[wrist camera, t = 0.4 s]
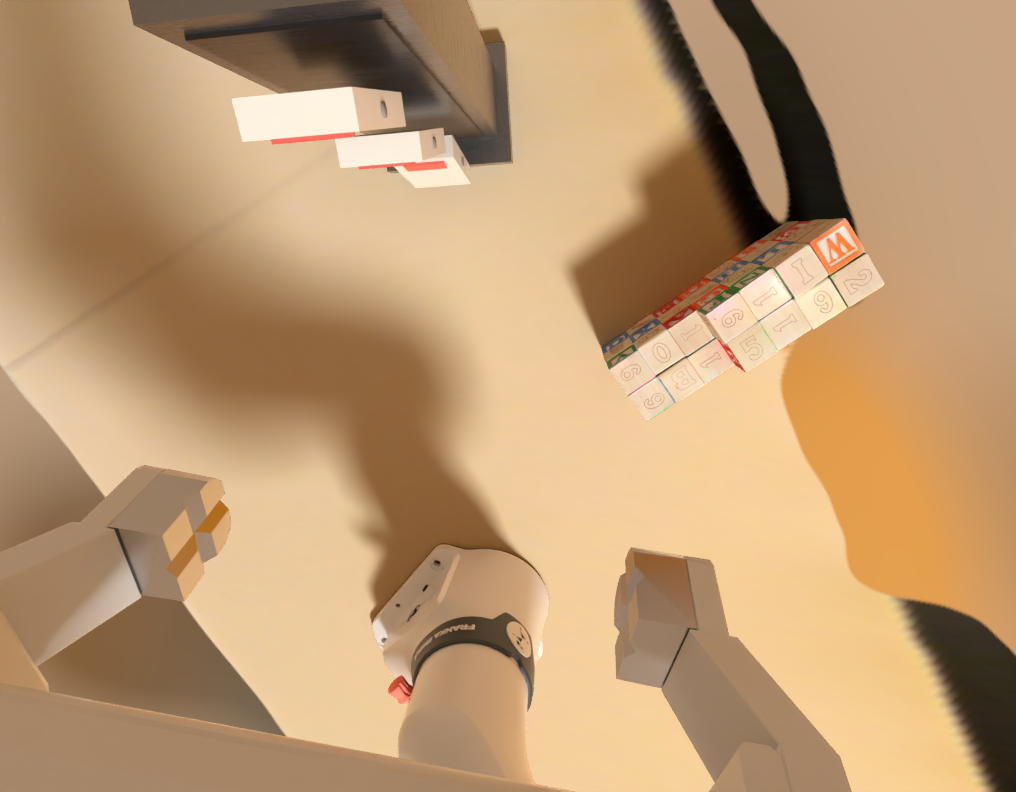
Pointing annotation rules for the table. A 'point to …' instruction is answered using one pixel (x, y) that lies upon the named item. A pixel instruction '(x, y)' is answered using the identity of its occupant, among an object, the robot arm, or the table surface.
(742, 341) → the stack of blocks
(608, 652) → the table surface
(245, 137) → the top rocker
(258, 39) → the power strip
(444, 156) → the bottom rocker
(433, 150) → the middle rocker
